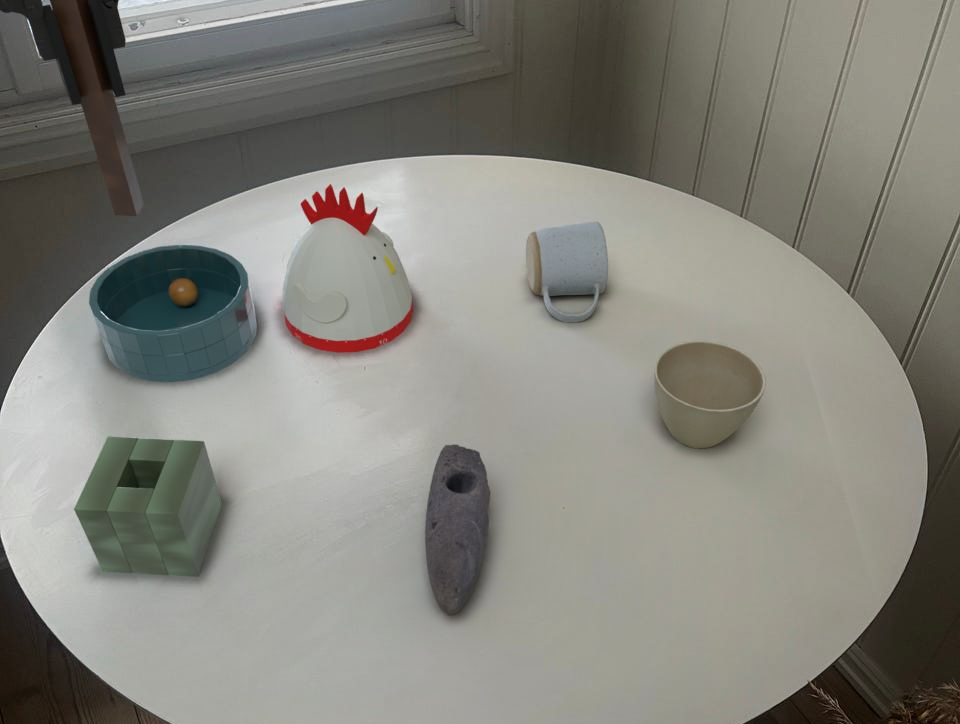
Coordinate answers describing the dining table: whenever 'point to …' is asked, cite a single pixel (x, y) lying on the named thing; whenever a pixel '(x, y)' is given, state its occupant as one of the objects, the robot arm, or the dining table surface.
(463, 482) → the perforated stone tool
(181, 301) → the bead
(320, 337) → the kitchen timer
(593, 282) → the ceramic mug
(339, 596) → the dining table surface
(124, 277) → the bowl
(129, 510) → the holder
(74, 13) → the stick
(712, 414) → the small beige bowl
